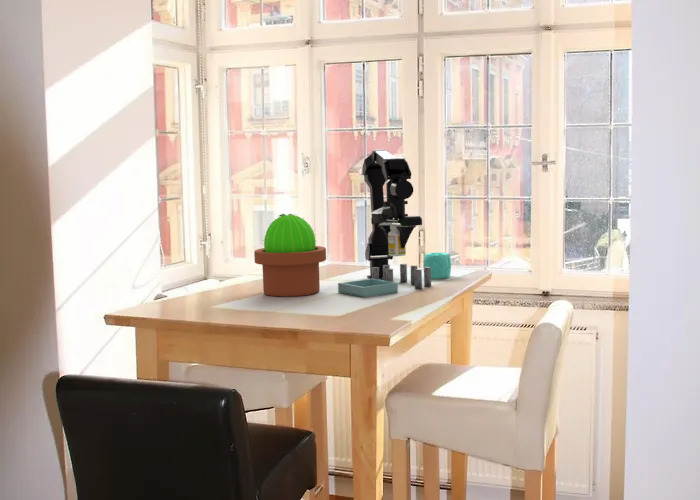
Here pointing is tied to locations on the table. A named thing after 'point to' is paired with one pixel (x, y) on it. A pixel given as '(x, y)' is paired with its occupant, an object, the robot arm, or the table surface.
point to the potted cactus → (290, 258)
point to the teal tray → (368, 287)
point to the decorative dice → (438, 264)
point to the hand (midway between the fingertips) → (396, 247)
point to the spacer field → (405, 275)
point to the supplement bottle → (395, 242)
